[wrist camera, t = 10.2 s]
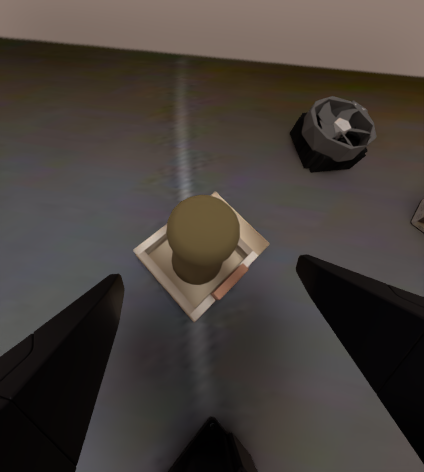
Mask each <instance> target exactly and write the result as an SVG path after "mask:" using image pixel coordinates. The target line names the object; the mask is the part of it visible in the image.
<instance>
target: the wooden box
mask: <svg viewBox="0 0 424 472" xmlns="http://www.w3.org/2000/svg"><path fill="white" fill-rule="evenodd" d="M211 196H213V197H216V198H219V199H221V200H222V201H224V202H225V203H226V204H228V203H227V202H226V201H225V200H224V199H223V198H222V197H221V196H219V195H218V194H217V193H216V192H215V193H213V194H212V195H211ZM228 205H229V204H228ZM229 206H230V205H229ZM230 207H231V206H230ZM231 208H232V207H231ZM232 210H233V211H234V212H235V213H236V215H237V218H238V221H239V224H240V238H239V241H238V245H237V248H236V249H235V250H234V252H233V253H232V254H231V256H230V257H229V258H228V259H226V260H225V261H223V263H222V266H221V269H220V272H219V273H218V275H217V276H216V277H215V278H214V279H213V280H211V281H210V282H208V283H205V284H202V285H191V284H189V283H186V282H184V281H183V280H181V279H180V278H179V277H178V276H177V275H176V273H175V271H174V270H173V266H172V262H171V261H172V252H173V251H172V249H171V247H170V246H169V243H168V239H167V234H166V230H167V224H166V225H165V226H164V227H162V228H161V229H160V230H158V231H157V232H156V233H155V234H153V235H152V236H151V237H149V238H148V239H147V240H145V241H144V242H143V243H142V244H140V245H139V246H138V247H136V248H135V249H134V250H133V251H134V252H135V253H136V254H135V255H136V256H137V257H138V258H139V259H140V261H141V262H142V263H143V264H144V265H145V266H146V267H147V269H148V270H149V271H150V272H151V273H152V274H153V276H154V277H155V278H156V279H157V280H158V281H159V282H160V284H161V285H162V286H163V287H164V288H165V289H166V291H167V292H168V293H169V294H170V295H171V296H172V297H173V299H174V300H175V301H176V302H177V303H178V304H179V306H180V307H181V308H182V309H183V310H184V311H185V312H186V314H187V315H188V316H189V317H190V318H191V319H192V321H193V322H195V321H196V320H197V319H198V318H199V317H200V316H201V315H202V314H203V313H204V312H205V311H206V310H207V309H208V308H209V307H210V306H211V305H212V304H213V303H214V302H215V301H216V300H220V299H221V298H222V297H223V296H224V295H225V294H226V293H227V292H228V291H229V290H230V289H231V287H232V286H233V285H234V284H235V283H236V282H237V281H238V280H239V279H240V278H241V277H242V276H243V275H244V274H245V273H246V272H247V271H248V270H249V269H248V268H247V267H248V266H249V265H250V264H251V263H252V262H253V261H254V260H255V259H256V258H257V257H258V256H259V255H260V254H261V253H262V252H263V251H264V250H265V248H266V247H267V246H268V245H269V243H268V242H267V241H266V240H265V239H264V238H263V237H262V236H261V235H260V234H259V233H258V232H257V231H256V230H255V229H254V228H253V227H252V226H251V225H250V224H249V223H248V222H246V221H245V220H244V219H243V218H242V217H241V216H240V215H239V214H238V213H237V212H236V211H235V210H234V209H233V208H232Z"/></svg>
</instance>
